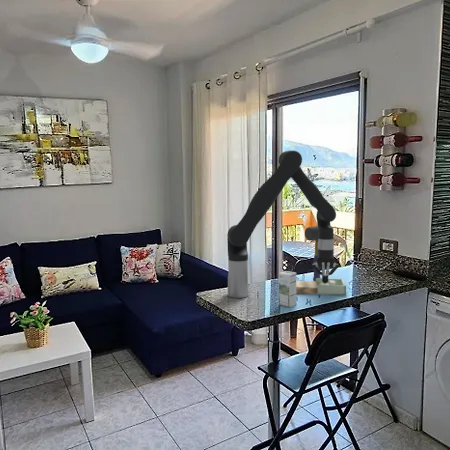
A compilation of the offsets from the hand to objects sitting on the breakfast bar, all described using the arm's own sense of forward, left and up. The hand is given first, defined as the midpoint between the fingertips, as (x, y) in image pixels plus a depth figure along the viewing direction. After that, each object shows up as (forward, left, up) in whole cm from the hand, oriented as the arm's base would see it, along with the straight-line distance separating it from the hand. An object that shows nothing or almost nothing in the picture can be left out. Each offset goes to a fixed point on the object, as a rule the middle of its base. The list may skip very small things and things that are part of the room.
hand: (325, 283), depth 206 cm
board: (-10, 0, -4) cm, 11 cm away
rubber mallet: (-3, +15, -4) cm, 16 cm away
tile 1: (0, 0, -3) cm, 3 cm away
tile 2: (+2, 0, -1) cm, 2 cm away
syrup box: (-18, -25, -4) cm, 31 cm away
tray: (+2, 0, -4) cm, 5 cm away
